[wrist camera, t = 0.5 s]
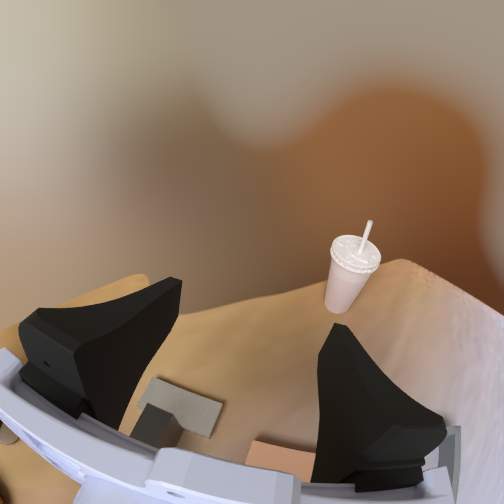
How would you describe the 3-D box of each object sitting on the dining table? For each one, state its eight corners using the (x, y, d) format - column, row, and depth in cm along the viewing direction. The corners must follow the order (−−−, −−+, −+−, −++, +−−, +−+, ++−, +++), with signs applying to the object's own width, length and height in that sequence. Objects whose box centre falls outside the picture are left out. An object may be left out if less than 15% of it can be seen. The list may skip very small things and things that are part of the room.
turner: (184, 496, 16) (172, 496, 13) (111, 460, 18) (87, 449, 15) (222, 406, 25) (220, 387, 21) (154, 380, 26) (141, 356, 23)
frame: (432, 536, 9) (449, 535, 8) (323, 547, 12) (334, 552, 10) (445, 434, 20) (460, 425, 18) (352, 430, 22) (364, 423, 21)
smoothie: (325, 326, 34) (360, 238, 25) (308, 291, 39) (330, 205, 30) (365, 315, 35) (404, 233, 27) (345, 284, 40) (373, 204, 31)
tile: (301, 516, 15) (306, 518, 14) (229, 501, 17) (229, 502, 15) (318, 457, 21) (324, 454, 19) (251, 443, 22) (252, 439, 21)
